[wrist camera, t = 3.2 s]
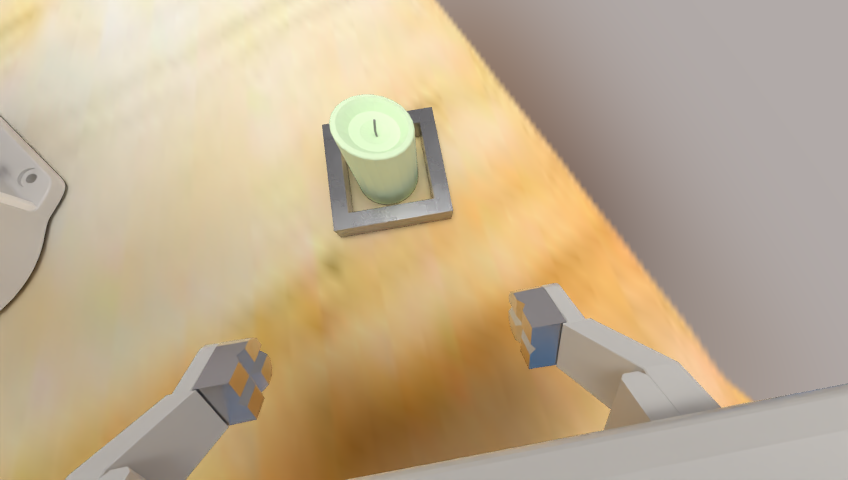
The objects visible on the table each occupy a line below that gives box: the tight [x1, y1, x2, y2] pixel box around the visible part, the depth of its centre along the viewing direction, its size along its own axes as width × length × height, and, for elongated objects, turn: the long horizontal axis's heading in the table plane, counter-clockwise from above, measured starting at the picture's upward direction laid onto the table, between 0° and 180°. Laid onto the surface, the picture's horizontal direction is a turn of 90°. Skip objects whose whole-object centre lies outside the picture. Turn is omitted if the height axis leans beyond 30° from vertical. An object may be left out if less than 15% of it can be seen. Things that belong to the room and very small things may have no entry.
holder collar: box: [322, 107, 453, 237], centre depth 25 cm, size 9×9×2 cm
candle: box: [329, 95, 418, 205], centre depth 22 cm, size 5×5×8 cm
